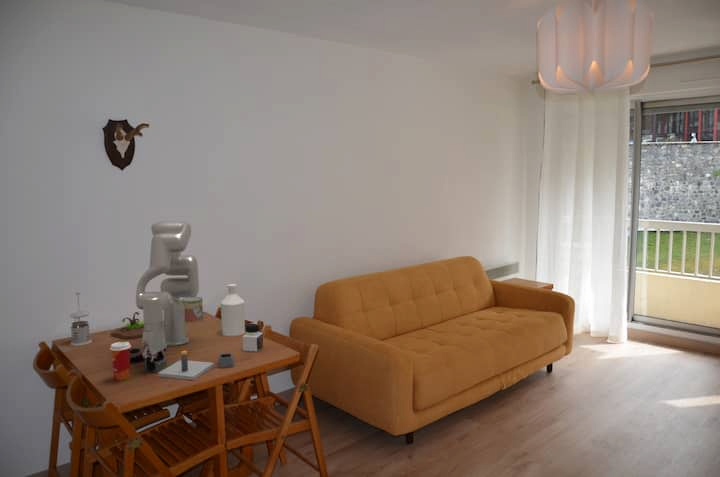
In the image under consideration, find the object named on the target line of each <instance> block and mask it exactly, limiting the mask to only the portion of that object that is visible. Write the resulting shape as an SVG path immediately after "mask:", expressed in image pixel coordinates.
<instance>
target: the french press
mask: <svg viewBox="0 0 720 477" xmlns="http://www.w3.org/2000/svg"><path fill="white" fill-rule="evenodd" d="M75 295H76V296H77V304H78V307H80V299H79V295H81V292H80V291H76V292H75ZM88 316H89V312H86V311H83V310H78V311H74V312H73V313H72V314H70V315H69V317H70V318H73V319H74V321H73V322H72V323H71V326H70V329H71V331H70V332H71V334H70V335H71V342H70V343H69V345H70V346H77V347H78V346H85V345H88V344H92V343H93V339H91V337H90V324H88V323H89V321H88V320H87V321H86V320H81V318H85V317H88ZM76 320H77V321H76Z"/></svg>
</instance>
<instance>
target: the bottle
mask: <svg viewBox="0 0 720 477" xmlns="http://www.w3.org/2000/svg"><path fill="white" fill-rule="evenodd" d="M237 287H238V285H237V284H235V283H231V284H227V290H228V291H227V292H228V294H227V295H226V296H225V297H224V299H222V300H221V302H220V315H221V317H220V318H221V334H222V336H226V337H238V336H243V335H245V334H246V321H245V320H246V317H245V314H246V312H245V311H246V310H245V307H246V306H245V303H246V302H245V300H244V299H243V298H242V297H240V295H239V294H238V293H237Z"/></svg>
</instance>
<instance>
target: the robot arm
mask: <svg viewBox="0 0 720 477" xmlns="http://www.w3.org/2000/svg"><path fill="white" fill-rule="evenodd" d="M150 227H151V233H152V237H151V244H150V254H149V255H150V256H149V257H150V258H149V267H148V269H147V270H146V271H145V272H144V273H143V274H142V275H141V277H140V279H139V280H138V282H137V285H136V293H135V304H136V307H137V308H138V309H139V310H142V312H143V314H142V316H143V321H144V323H143V324H144V331H143V338H141V339H142V341H141V346H142V347H141V348H142V353H143V354H142V357H143V358H144V360H145V361H147V370H149V371H154V361H153V358H154V357H155V354H157V355H156V357H158V358H165V355H166V353H165V352H166V349H167V347H176V346H181V345H185V344H187V343H189V342H190V338H189V337H188V336H186V322H185V312H184V304H183V303H182V301H181V299H182V298H185V297H195V296H196V297H198V296H199V291H200V286H199V285H200V282H199V267H198V261H197V257H195V256H194V255H190V254H189V255H183V254H182V253H183V252H184V251H185V250H186V249H187V246H188V245H189V241H190V238H191V235H192V226H191V224H190V223H189V222H187V221H158V222H157V221H156V222H154V223H153V224H152V225H151V226H150ZM163 274H164V275H165V276H186V277H167V278H165V279H163V280H162V281H161V282H160V285H159V286H160V287H159V289H160V291H146V287H147V285H148V284H149V282H150V281H151V280H153V279H154V278H156V277H158V276H160V275H163ZM180 298H181V299H180ZM145 361H144V362H145ZM149 371H148V372H149Z"/></svg>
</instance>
